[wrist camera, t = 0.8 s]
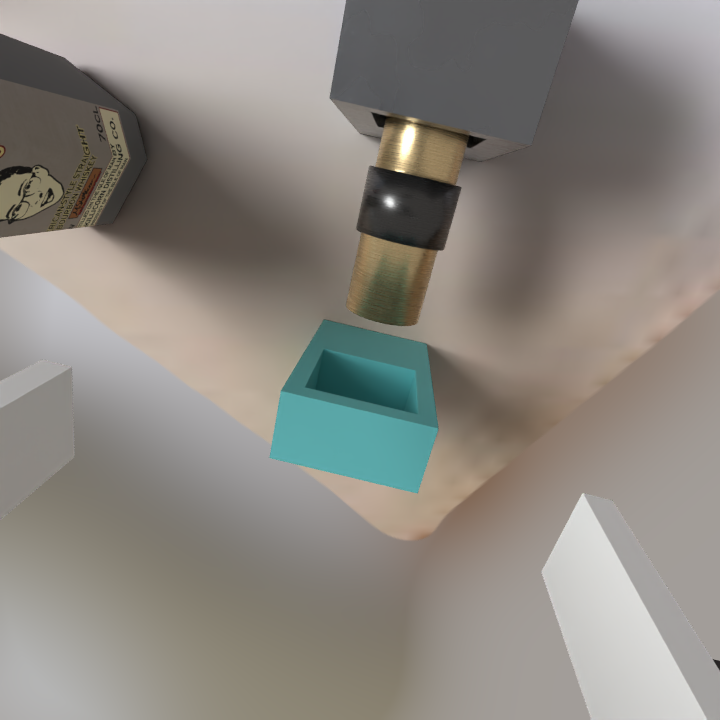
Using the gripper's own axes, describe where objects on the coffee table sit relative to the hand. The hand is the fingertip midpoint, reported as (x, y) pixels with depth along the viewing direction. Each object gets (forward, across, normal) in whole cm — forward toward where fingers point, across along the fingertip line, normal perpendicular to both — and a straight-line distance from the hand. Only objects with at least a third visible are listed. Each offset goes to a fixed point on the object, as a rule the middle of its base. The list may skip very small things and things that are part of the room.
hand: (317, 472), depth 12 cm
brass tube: (+17, +1, +9) cm, 19 cm away
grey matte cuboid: (+24, +1, +14) cm, 27 cm away
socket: (+23, +1, -6) cm, 24 cm away
